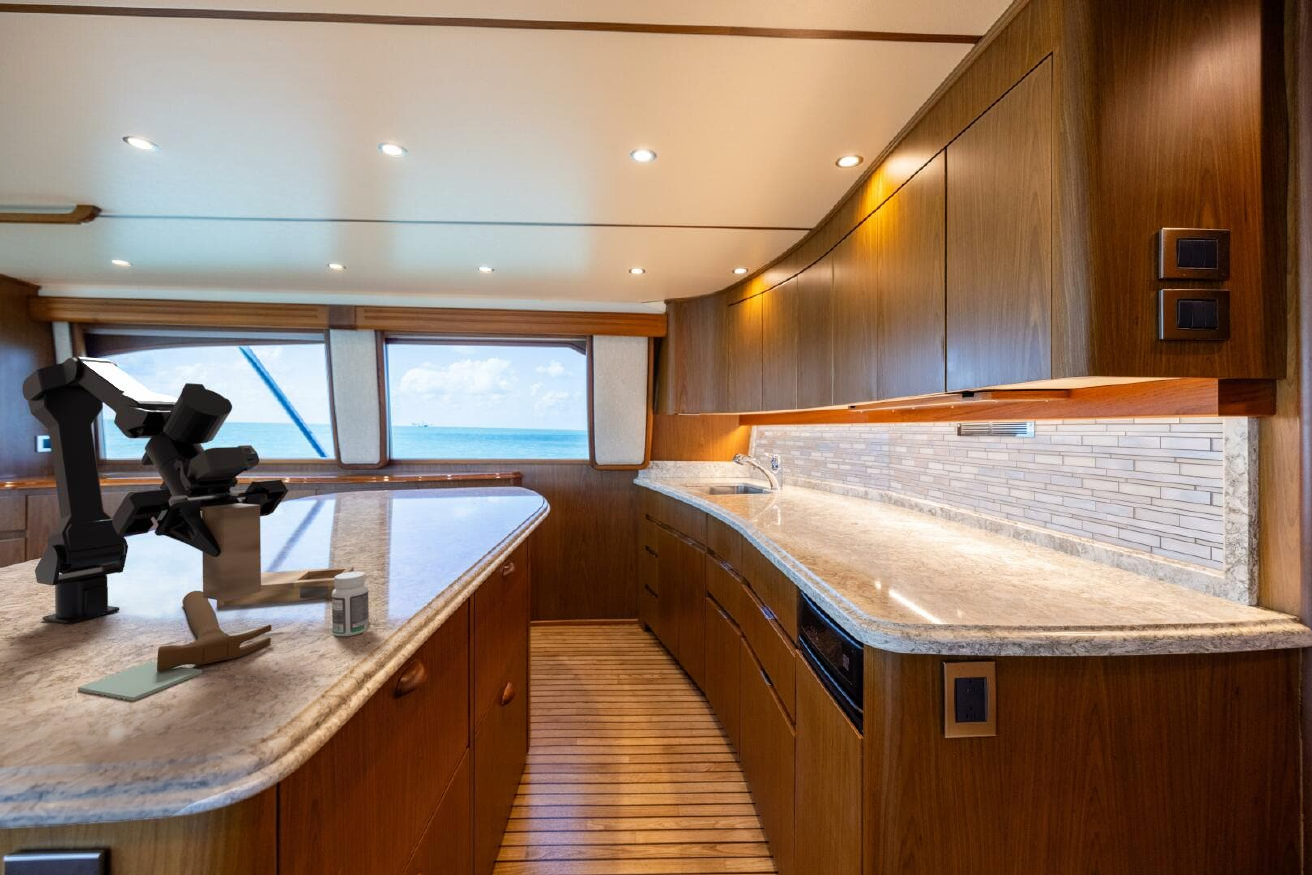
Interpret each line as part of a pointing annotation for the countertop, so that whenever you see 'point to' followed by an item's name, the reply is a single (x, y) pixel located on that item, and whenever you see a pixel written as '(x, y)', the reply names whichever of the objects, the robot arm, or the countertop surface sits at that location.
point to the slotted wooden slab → (292, 586)
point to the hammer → (207, 638)
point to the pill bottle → (350, 604)
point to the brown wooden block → (233, 552)
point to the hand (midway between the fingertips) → (237, 550)
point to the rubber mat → (139, 681)
